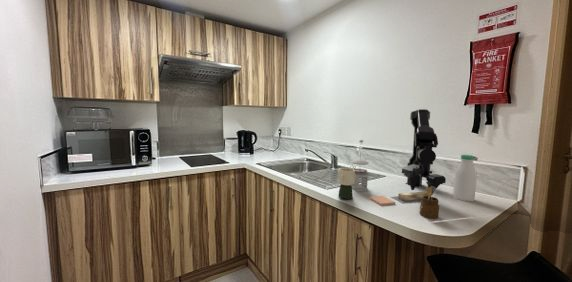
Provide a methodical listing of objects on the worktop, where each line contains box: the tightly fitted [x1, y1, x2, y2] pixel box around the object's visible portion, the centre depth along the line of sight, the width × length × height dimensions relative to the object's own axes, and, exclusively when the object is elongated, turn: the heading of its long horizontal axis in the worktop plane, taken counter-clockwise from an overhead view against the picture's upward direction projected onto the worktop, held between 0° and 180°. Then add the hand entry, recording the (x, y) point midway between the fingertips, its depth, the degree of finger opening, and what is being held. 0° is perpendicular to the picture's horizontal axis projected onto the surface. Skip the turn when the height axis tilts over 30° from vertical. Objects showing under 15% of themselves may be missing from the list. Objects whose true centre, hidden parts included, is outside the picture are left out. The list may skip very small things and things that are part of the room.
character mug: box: [337, 167, 355, 200], centre depth 103 cm, size 11×7×13 cm, turn 141°
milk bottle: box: [452, 154, 478, 203], centre depth 103 cm, size 8×8×20 cm
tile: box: [368, 195, 396, 207], centre depth 99 cm, size 2×8×7 cm
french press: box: [349, 139, 369, 192], centre depth 114 cm, size 10×12×25 cm
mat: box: [390, 196, 422, 204], centre depth 102 cm, size 18×8×1 cm, turn 103°
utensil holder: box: [419, 186, 440, 220], centre depth 84 cm, size 6×6×12 cm
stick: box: [398, 191, 428, 201], centre depth 102 cm, size 14×2×2 cm, turn 103°
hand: (420, 193), depth 103 cm, fingers open, 9 cm apart
